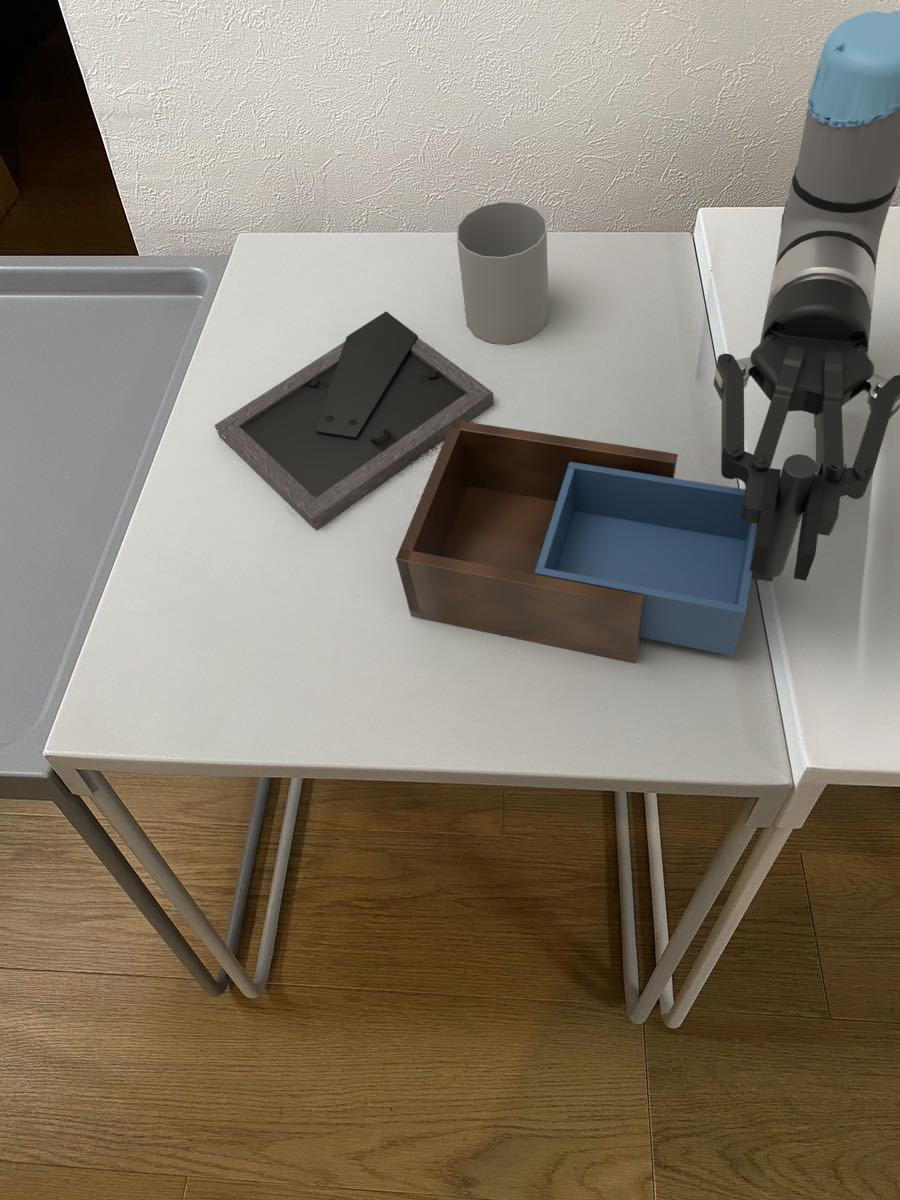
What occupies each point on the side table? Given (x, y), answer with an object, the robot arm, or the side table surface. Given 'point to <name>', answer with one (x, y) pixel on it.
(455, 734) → the side table surface
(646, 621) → the blue drawer insert
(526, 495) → the walnut drawer box
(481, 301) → the cup
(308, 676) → the side table surface
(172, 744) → the side table surface
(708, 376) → the side table surface
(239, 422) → the picture frame
